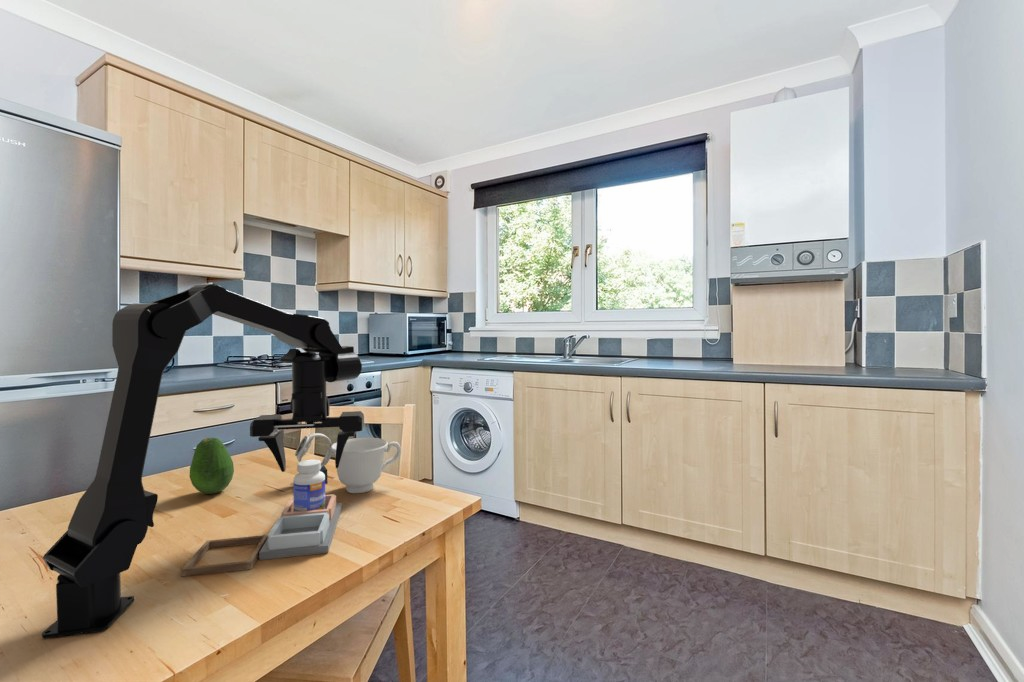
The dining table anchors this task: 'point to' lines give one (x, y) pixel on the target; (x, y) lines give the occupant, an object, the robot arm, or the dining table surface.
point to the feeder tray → (224, 567)
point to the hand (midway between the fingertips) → (310, 469)
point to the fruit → (211, 466)
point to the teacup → (363, 462)
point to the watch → (305, 446)
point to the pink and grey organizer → (302, 531)
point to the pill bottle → (309, 486)
